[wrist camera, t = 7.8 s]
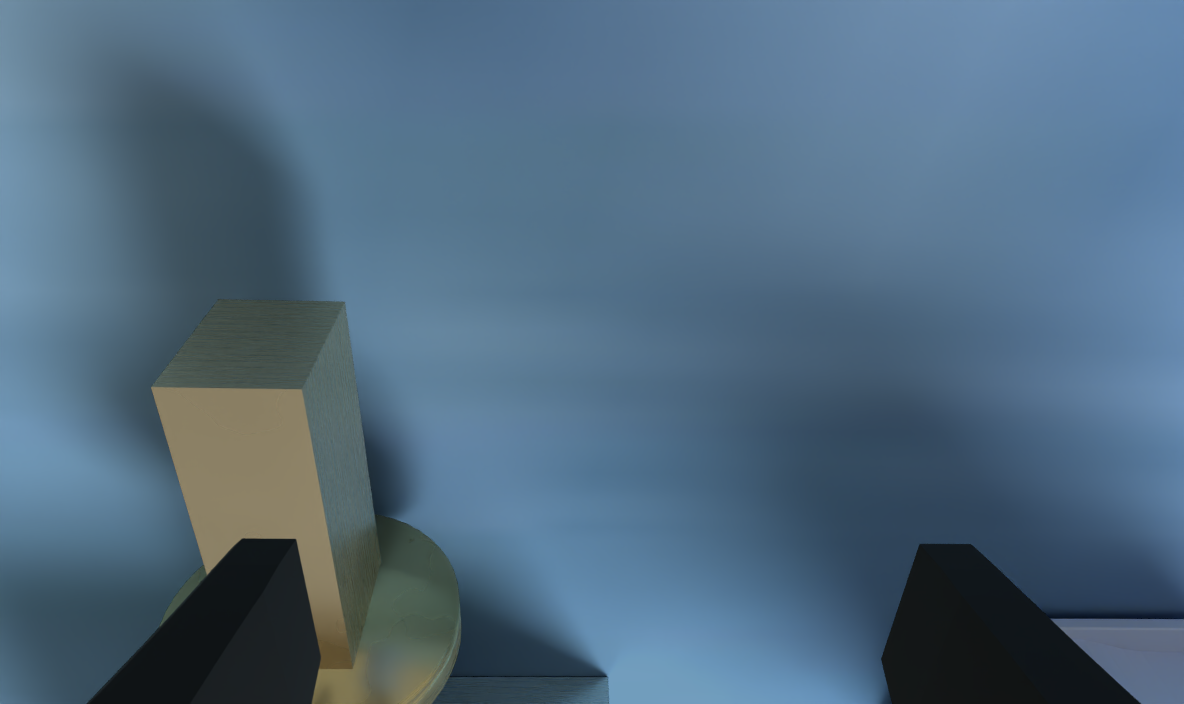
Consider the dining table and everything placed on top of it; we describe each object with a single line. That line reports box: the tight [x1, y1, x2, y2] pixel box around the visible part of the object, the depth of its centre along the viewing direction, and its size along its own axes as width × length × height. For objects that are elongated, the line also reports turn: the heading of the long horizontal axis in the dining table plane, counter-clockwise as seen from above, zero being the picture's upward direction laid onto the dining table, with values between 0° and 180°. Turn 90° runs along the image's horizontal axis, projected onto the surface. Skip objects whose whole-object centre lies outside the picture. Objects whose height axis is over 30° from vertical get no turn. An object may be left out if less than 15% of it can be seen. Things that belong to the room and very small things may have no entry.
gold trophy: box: [151, 299, 461, 704], centre depth 18 cm, size 6×14×6 cm, turn 178°
